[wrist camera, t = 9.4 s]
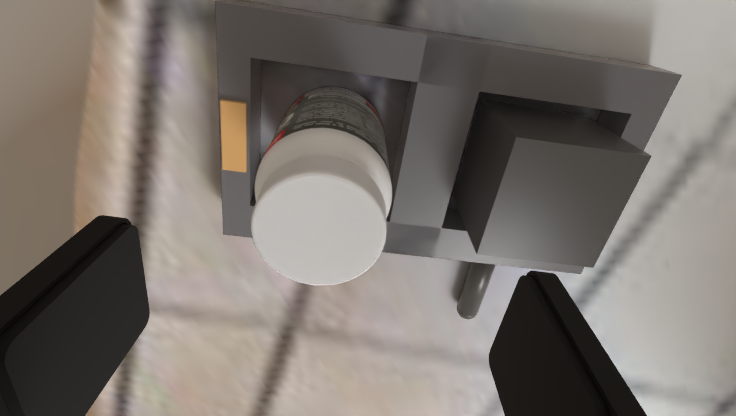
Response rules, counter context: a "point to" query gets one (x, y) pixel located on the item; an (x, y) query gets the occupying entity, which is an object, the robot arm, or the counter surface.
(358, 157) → the pill bottle
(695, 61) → the counter surface
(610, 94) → the two-compartment grey tray
